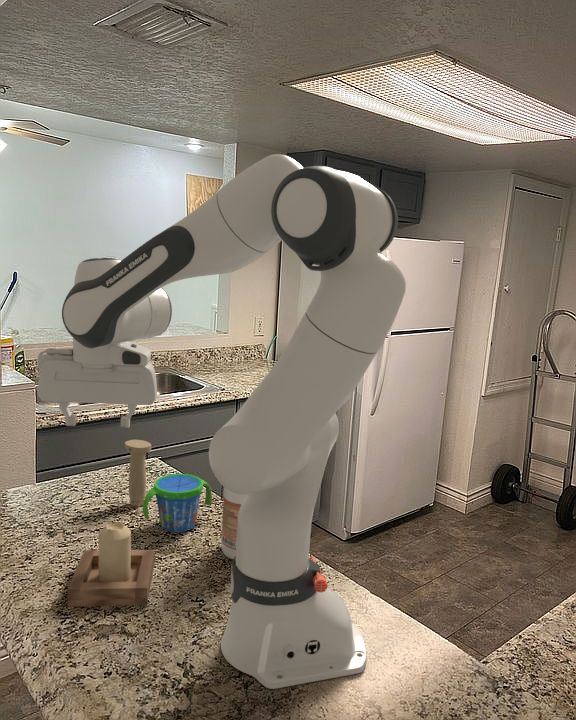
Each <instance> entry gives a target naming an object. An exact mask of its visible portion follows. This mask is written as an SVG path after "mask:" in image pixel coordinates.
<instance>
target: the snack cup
mask: <svg viewBox="0 0 576 720" xmlns="http://www.w3.org/2000/svg"><path fill="white" fill-rule="evenodd" d="M204 486H205V498H204V504H205V505H206V506H211V505H212V501H213V493H212V488H211V486H210V484H209V483H208V482H206V481H205V480H203V479H202V478H200V477H199V476H196V475H193V474H187V473H173V474H166V475H163V476H160V477H158V478H156V480H155V481H154V483H153V487H152V488H151V489H150V490H148V492H147V494H145V498H144V503H143V505H142V514H143V517H144V518H145V520H147V521H149V520H150V516H149V508H148V507H149V506H148V505H149V503H150V501H151V500H152V499H153V497H154V496H155V498H156V503H157V510H158V518H159V524H160V526H161V529H162V530H164V531H167V532H170V533H176V534H178V533H184V532H187V531H189V530H193V529H194V527H195V525H196V520H197V517H198V511H199V510H198V509H199V504H200V498H201V493H202V491H203V489H204Z"/></svg>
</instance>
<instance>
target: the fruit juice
mask: <svg viewBox="0 0 576 720" xmlns="http://www.w3.org/2000/svg"><path fill="white" fill-rule="evenodd" d="M222 496H223V497H222V498H223V499H222V518H221V520H222V521H221V542H220V546H221V551H222V553H223V555H224V556H225V557H227V558H229V559H231V560H234V557H235V556H236V542H237V522H238V513H239V510H240V507H241V505H242V503H243V501H244V500H245V498H246V496H247V494H245V495H242V494H236V493H233V492H231V491H229V490H228V489H226V488H225V487H224V486H223V495H222Z"/></svg>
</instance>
